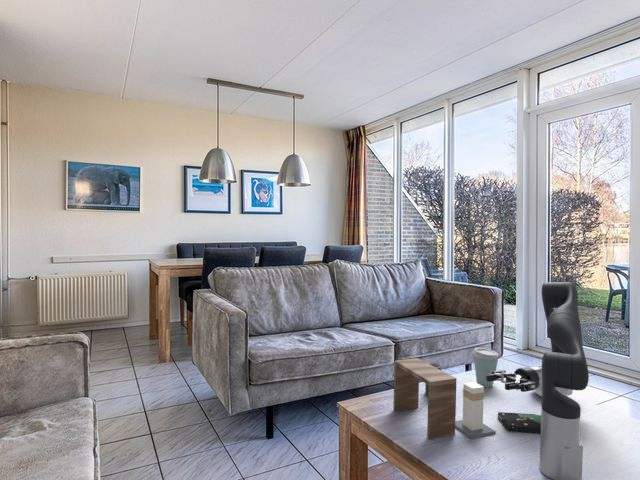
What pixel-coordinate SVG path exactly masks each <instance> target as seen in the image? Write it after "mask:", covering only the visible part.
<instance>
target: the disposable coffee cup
mask: <svg viewBox="0 0 640 480" xmlns="http://www.w3.org/2000/svg"><path fill="white" fill-rule="evenodd" d="M472 355H473V361H474V362H473V363H474V372H475V379H476V383H477V384H479V385H481V386H483V387H484V388H491V387H493V385H494V382H495V381H490V382H488V381H486V376H487V375H490V374H492V371H497V366H498V361H499V353H498V352H496V351H495V350H492V349H489V348H485V347H475V348H474V350H473V351H472Z"/></svg>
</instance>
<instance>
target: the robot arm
mask: <svg viewBox="0 0 640 480" xmlns="http://www.w3.org/2000/svg"><path fill="white" fill-rule="evenodd" d="M541 285H542V286H541V300H542V305H543V310H544V315H545V320H546V333H547V336H548V338H549V339H550V344H551V345H550V346H551V351H546V352H544V353H543V356H542V358H541V366H527V367H519V368H517V369H515V371H514V372H507V371H506V370H505V369H502V370H501V369H499V370H496V371H492V374H490V375H487V376H486V381H488V382H490V381H494V382H495V381H496V382H501V383H502V384H504V390H506V391H513V390H515V391H519V390H520V391H521V392H522V393H526V392H531V391H535V389H539V388H542V397H541V408H540V409H541V412H540V415H541V434H540V439H539V440H540V441H539V445H540V446H539V471H540V472H541V473H542V474H543V475H544V476H546V477H547V478H549V479H551V480H583V458H584V455H583V454H584V446H583V445H582V444H580V440H581V439H580V434H581V433H580V432H581V412H582V411H581V409H582V408H581V405H580V404H579V403H578V401H576V400H574V399H572V398H570V397H569V396H565V395H563V394H561V393H560V392H559V391H557V390H556V389H555V387H559V388H565V389H571V390H573V391H585V389H586V388H587V387H588V384H589V381H590V380H589V379H590V378H589V376H590V375H589V368H588V367H589V366H588V363H587V359H586V354H585V351H584V344H583V335H582V334H583V333H582V332H583V331H582V324H581V320H580V314H579V292H578V289H577V287H576V285H575V284H574V283H573V282H570V281H547V282H543V284H541ZM504 379H505V380H504Z"/></svg>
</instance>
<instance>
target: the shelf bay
mask: <svg viewBox="0 0 640 480" xmlns="http://www.w3.org/2000/svg"><path fill="white" fill-rule="evenodd" d="M393 363H394V369H393V373H394V374H393V409H392V410H393V411H394V412H399V411H400V412H401V411H405V410H406V411H407V410H411V409H417V408H419V399H420V398H419V396H420V395H419V393H420V392H419V390H420V389H419V388H420V381H421V382H422V383H424V384H425V383H426V384H428V396H427V424H426V425H427V428H426V429H427V432H426V433H427V434H426V437H427V439H428V440H433V439H438V438H442V437H447V436H453V435H456V428H455V421H456V420H457V419H456V417H457V416H456V414H457V412H456V411H457V410H456V409H457V380H458V379H457V378H456V377H455V376H453V375H451V374H449V373H447V372H445V371H443V370H442V369H441V370H439V369H438V368H436V367H434V366H432V365H430V364H431V363H428V362H426V361H424V360H423V359H421V358H418V357H416V358H414V357H413V358H405V359H397V360H394V362H393Z"/></svg>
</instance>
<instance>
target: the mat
mask: <svg viewBox="0 0 640 480" xmlns="http://www.w3.org/2000/svg"><path fill="white" fill-rule="evenodd" d="M455 429H456V430H458V431H460V432H461V433H462V434H464V435H465V436H466V437H468V438H470V439H476V438H480V437H486V436H490V435H495V434H496V430H495V429H493V428H491V427H490V426H488V425H486V424H485V423H483V429H477V430H470V429H469V428H467V427H466V426H464V425H463V419H461V420H455Z"/></svg>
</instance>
